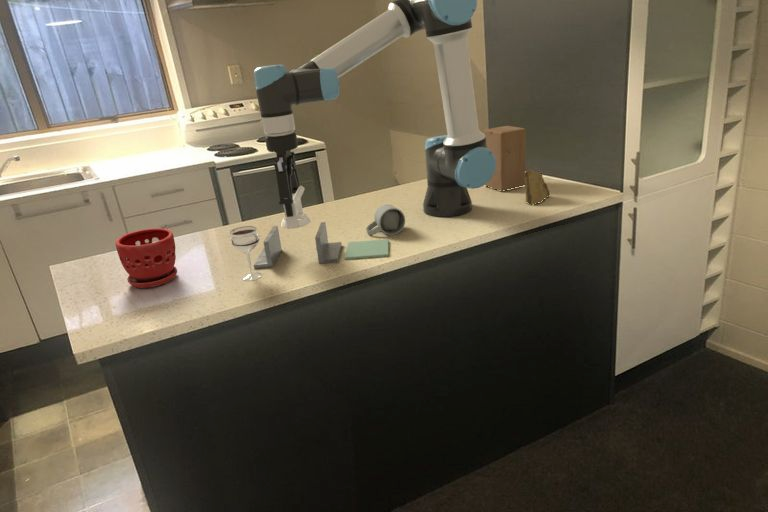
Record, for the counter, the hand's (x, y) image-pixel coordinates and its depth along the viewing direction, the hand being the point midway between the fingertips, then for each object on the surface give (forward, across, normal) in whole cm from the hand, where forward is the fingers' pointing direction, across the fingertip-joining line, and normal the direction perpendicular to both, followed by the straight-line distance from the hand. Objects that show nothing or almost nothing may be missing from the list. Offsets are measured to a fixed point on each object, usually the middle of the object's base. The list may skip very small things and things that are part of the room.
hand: (295, 222), depth 137 cm
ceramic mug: (+10, -14, +22) cm, 28 cm away
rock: (+11, -33, +70) cm, 78 cm away
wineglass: (+9, +11, -10) cm, 18 cm away
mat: (+10, -1, +17) cm, 20 cm away
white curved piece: (+1, 0, 0) cm, 1 cm away
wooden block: (+11, -52, +63) cm, 83 cm away
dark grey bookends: (+9, 0, 0) cm, 9 cm away
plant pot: (+9, +9, -36) cm, 38 cm away
